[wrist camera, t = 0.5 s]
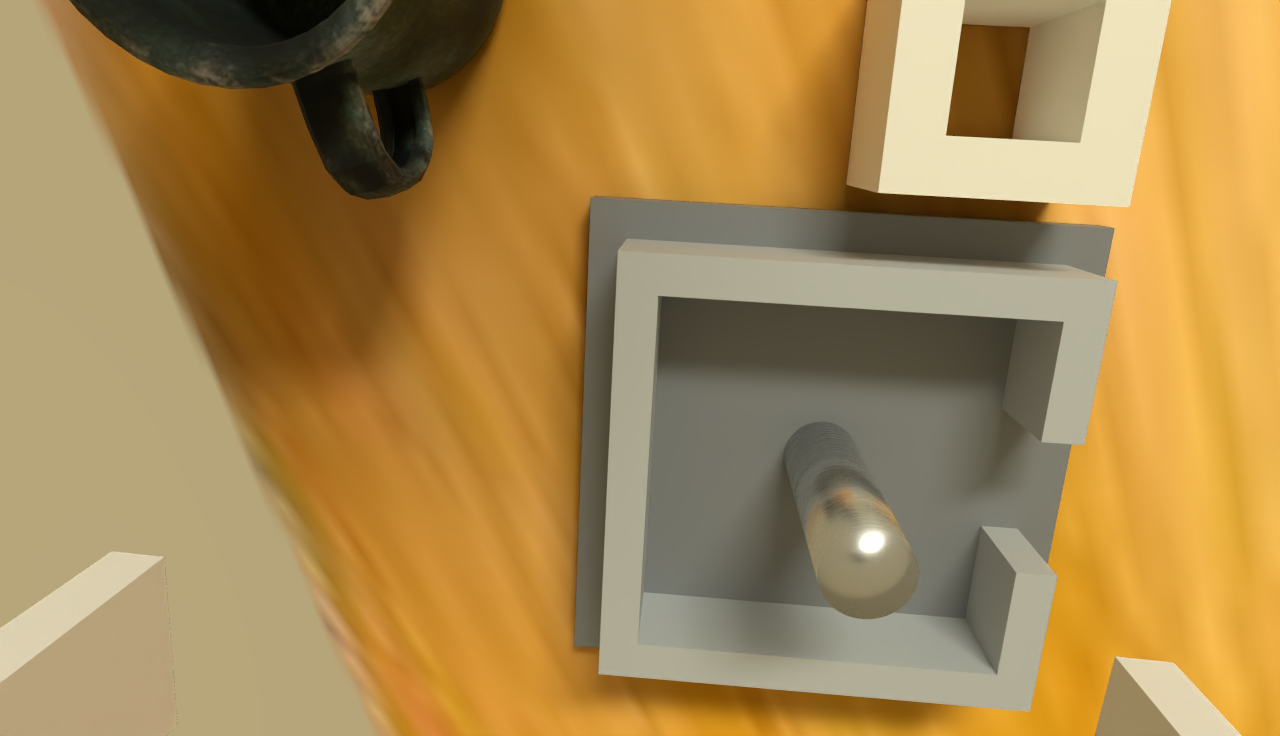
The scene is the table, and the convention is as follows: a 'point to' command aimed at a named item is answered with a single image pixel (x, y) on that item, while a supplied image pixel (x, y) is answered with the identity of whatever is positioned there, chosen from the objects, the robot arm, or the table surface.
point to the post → (848, 525)
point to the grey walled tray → (843, 395)
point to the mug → (318, 66)
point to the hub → (1047, 106)
